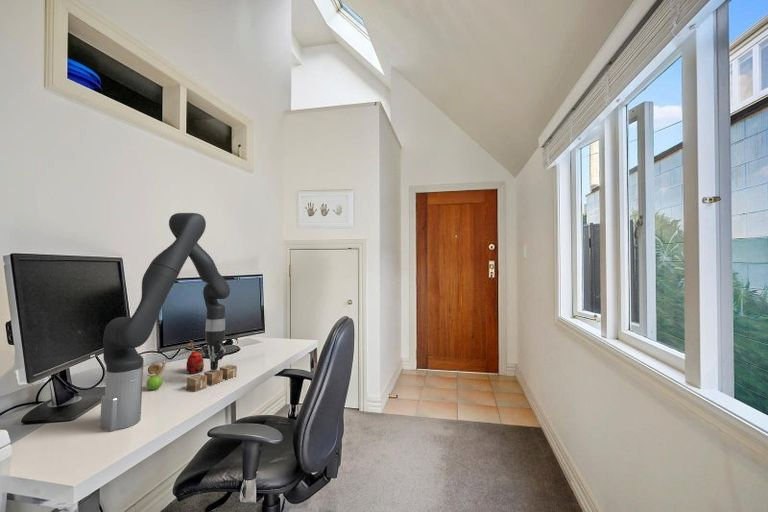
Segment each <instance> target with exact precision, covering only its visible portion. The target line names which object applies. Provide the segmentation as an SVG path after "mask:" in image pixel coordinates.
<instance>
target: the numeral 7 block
mask: <svg viewBox="0 0 768 512" xmlns="http://www.w3.org/2000/svg"><path fill="white" fill-rule="evenodd" d="M218 370H222V371H223V376H222V380H223V379H225V380H224V381H229V380H228V379H230V380H232V379H234V378H233V377H235V378H237V377H236V376H237V374H238V373H237V372H238V371H237V370H238V366H237V365H233V364H227V365H223V366H219V369H218ZM231 378H232V379H231Z"/></svg>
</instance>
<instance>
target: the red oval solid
mask: <svg viewBox="0 0 768 512" xmlns="http://www.w3.org/2000/svg"><path fill="white" fill-rule="evenodd" d="M189 341H190V343H187V345H188V346H191V349H192V352H191V354H190V355H189V356H188V358H187V359H186V360H187V361H186V366H185V367H186V372H187V373H188V374H192V375H194V374H195V375H196V374H198V373H201V372H203V371H204V367H205V363H204V359H203V356H202V354H201V353H200V351H198V352H197V351H196V352H195V350H194V349H195V348H194V345H193V343H194V341H192V340H191V339H189Z"/></svg>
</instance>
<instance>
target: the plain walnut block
mask: <svg viewBox="0 0 768 512" xmlns="http://www.w3.org/2000/svg"><path fill="white" fill-rule="evenodd" d="M203 375H205V376H207V386H210V385H211V386H210V387H213V386H216V385H219V384H221V383H220V382H222V383H223V379H222V376H223V371H222V370H219V369H218V368H217V369H216V370H211V369H210V370H208V371H204V372H203ZM218 383H219V384H218ZM215 384H216V385H215Z"/></svg>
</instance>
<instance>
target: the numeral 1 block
mask: <svg viewBox="0 0 768 512" xmlns="http://www.w3.org/2000/svg"><path fill="white" fill-rule="evenodd" d="M207 386H208V385H207V376H205V375H204V374H201V373H200V374H198V373H196V374H195V375H194V374H193V375H192V376H191V375H190V376H188V377H186V390H187V391H188V392H193V393H196V392H199V391H202V390H205V389H207Z"/></svg>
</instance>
